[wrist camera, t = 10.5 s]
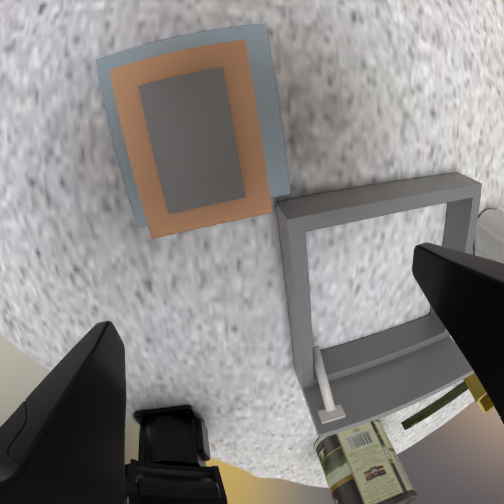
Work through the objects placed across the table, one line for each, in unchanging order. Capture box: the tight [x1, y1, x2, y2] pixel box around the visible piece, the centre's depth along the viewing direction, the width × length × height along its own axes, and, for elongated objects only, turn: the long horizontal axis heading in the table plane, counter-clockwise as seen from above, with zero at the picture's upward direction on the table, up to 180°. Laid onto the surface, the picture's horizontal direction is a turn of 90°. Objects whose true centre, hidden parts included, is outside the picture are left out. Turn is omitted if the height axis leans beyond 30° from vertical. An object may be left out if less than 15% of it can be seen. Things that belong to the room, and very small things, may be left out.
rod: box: [402, 381, 469, 430], centre depth 39 cm, size 31×1×2 cm, turn 119°
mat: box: [96, 24, 291, 227], centre depth 17 cm, size 10×11×1 cm
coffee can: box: [315, 419, 418, 504], centre depth 33 cm, size 10×10×14 cm
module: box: [110, 39, 272, 239], centre depth 14 cm, size 5×7×7 cm
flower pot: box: [464, 373, 494, 414], centre depth 30 cm, size 9×9×9 cm
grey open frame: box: [275, 172, 482, 439], centre depth 22 cm, size 16×17×8 cm
